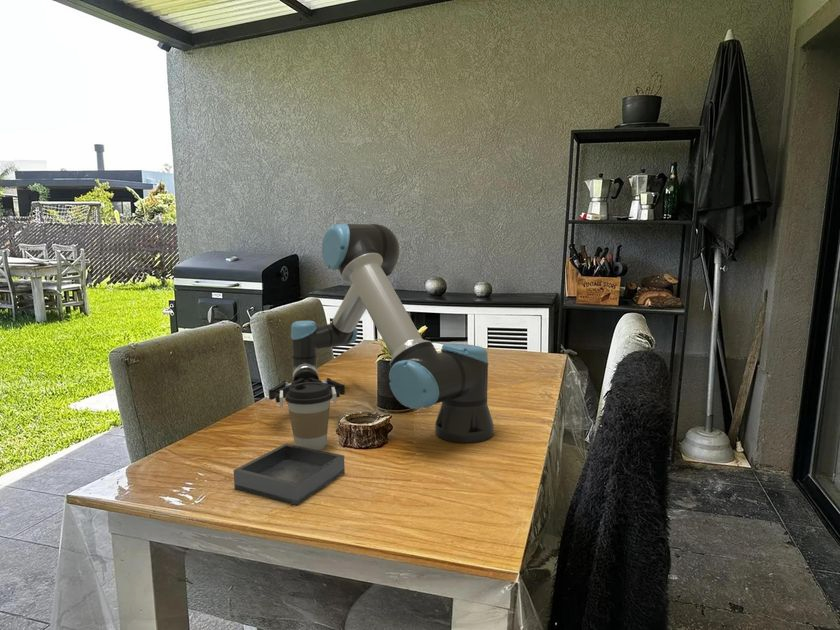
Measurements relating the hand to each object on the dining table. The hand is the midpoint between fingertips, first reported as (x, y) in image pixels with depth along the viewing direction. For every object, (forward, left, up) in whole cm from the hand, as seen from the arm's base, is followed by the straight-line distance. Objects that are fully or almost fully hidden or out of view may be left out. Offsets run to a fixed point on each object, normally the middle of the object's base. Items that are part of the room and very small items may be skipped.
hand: (308, 400), depth 144 cm
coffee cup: (-6, +7, -9) cm, 13 cm away
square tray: (-14, +24, -9) cm, 30 cm away
